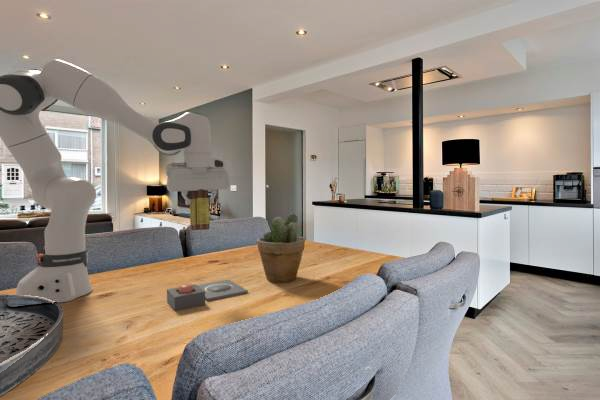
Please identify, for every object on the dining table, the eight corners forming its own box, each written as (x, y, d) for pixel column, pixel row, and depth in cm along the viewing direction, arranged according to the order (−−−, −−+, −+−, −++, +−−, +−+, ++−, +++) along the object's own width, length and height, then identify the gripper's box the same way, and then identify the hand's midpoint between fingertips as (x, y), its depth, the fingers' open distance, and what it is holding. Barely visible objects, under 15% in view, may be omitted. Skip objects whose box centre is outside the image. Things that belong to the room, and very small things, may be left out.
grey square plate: (207, 301, 106) (207, 298, 106) (191, 288, 119) (191, 285, 119) (247, 292, 114) (247, 290, 114) (229, 281, 127) (228, 279, 127)
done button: (180, 299, 101) (180, 288, 101) (176, 295, 105) (176, 285, 105) (194, 296, 104) (194, 286, 104) (190, 293, 107) (190, 283, 107)
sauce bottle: (212, 229, 116) (212, 172, 117) (205, 230, 110) (205, 169, 111) (194, 230, 117) (194, 172, 118) (186, 230, 111) (186, 170, 112)
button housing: (174, 310, 98) (174, 297, 98) (167, 301, 106) (166, 289, 105) (205, 304, 103) (205, 291, 103) (195, 296, 111) (195, 284, 110)
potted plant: (299, 287, 120) (299, 217, 119) (250, 284, 124) (249, 216, 123) (308, 273, 138) (308, 212, 137) (265, 271, 142) (264, 212, 141)
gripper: (167, 162, 104) (170, 206, 105) (230, 162, 116) (231, 202, 117) (163, 163, 110) (165, 205, 111) (223, 163, 121) (225, 201, 122)
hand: (200, 204), depth 114 cm, fingers closed on sauce bottle, 6 cm apart
